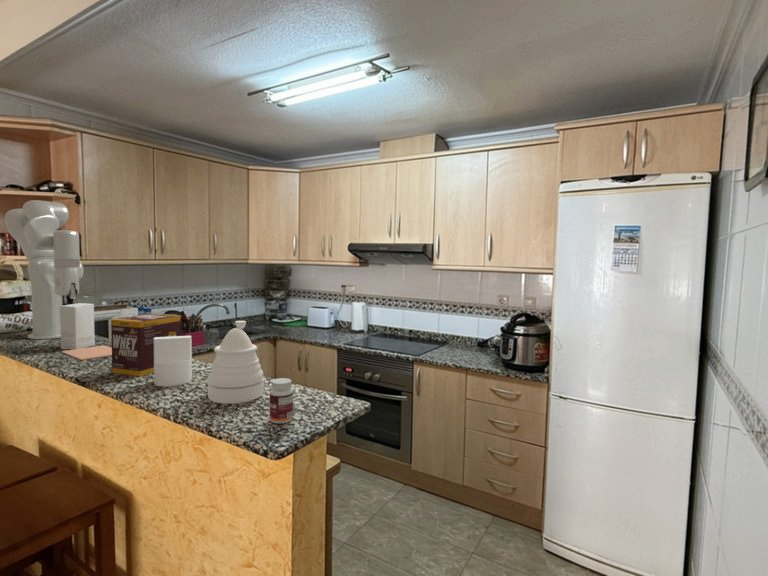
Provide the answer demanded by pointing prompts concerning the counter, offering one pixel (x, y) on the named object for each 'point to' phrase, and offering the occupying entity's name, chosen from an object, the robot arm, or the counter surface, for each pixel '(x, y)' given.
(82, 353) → the mat
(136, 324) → the supplement box
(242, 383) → the honey pot
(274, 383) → the pill bottle
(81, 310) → the skincare box
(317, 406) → the counter surface
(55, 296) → the robot arm
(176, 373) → the cylinder with rectangular tab
